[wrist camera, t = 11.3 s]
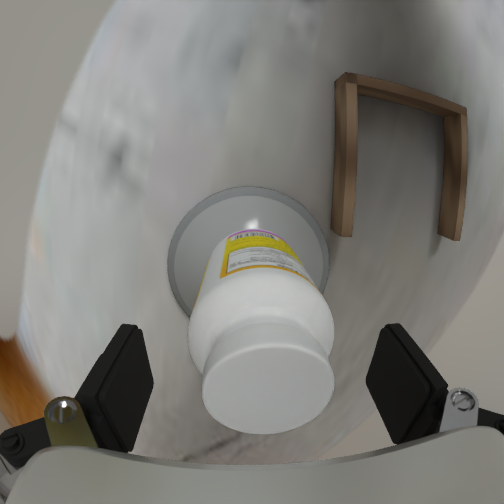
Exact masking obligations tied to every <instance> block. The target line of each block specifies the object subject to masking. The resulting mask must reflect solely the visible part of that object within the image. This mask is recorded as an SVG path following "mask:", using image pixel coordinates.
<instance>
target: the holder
mask: <svg viewBox="0 0 504 504" xmlns="http://www.w3.org/2000/svg"><path fill="white" fill-rule="evenodd" d="M357 94H358V95H363V96H368V97H373V98H378V99H382V100H386V101H391V102H395V103H399V104H403V105H407V106H410V107H414V108H417V109H421V110H424V111H428V112H431V113H434V114H437V115H440V116H443V117H444V175H443V190H442V202H441V211H440V220H439V227H438V234H440V235H442V236H444V237H447V238H449V239H451V240H453V241H460V237H461V231H462V224H463V216H464V208H465V198H466V185H467V166H468V128H467V109H466V107H463V106H461V105H458V104H456V103H453V102H451V101H448V100H445V99H443V98H440V97H437V96H434V95H432V94H429V93H426V92H423V91H420V90H416V89H413V88H410V87H407V86H403V85H400V84H396V83H392V82H388V81H384V80H380V79H376V78H372V77H368V76H363V75H358V74H353V73H348V72H345V73H344V74H343V75H342V76H341V77H339V78H338V79H337V80H336V81H335V161H334V185H333V202H332V217H331V230H333V231H334V232H335V233H337V234H338V235H340V236H341V237H352V229H353V219H354V206H355V192H356V174H357V143H358V105H357Z"/></svg>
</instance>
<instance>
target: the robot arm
mask: <svg viewBox="0 0 504 504" xmlns="http://www.w3.org/2000/svg"><path fill="white" fill-rule="evenodd" d="M153 384H154V382H153V376H152V372H151V368H150V364H149V360H148V356H147V351H146V346H145V342H144V337H143V332H142V330H141V329H138V327H137V325H131V324H122V325H121V326H120V328H119V329H118V331H117V332H116V334H115V335H114V337H113V338H112V340H111V341H110V343H109V345H108V346H107V348H106V349H105V351H104V352H103V354H101V355H100V357H99V358H98V360H97V361H96V363H95V364H94V366H93V368H92V369H91V371H90V372H89V374H88V376H87V377H86V379H85V381H84V382H83V384H82V386H81V387H80V389H79V391H78V393H77V394H76V396H75V398H71V397H67V396H62V397H57V398H55V399H53V400H51V401H50V402H49V403H48V404H47V405H46V407H45V410H44V417H43V418H40V419H37V420H35V421H32V422H29V423H26V424H22V425H19V426H16V427H13V428H10V429H8V430H5V431H4V432H3V433H2V434H1V435H0V504H504V415H501V414H498V413H494V412H491V411H488V410H485V409H481V408H478V406H479V404H478V399H477V397H476V396H475V395H474V393H472V392H471V391H469V390H467V389H465V388H454V389H452V390H451V391H450V392H449V391H448V390H447V387H448V384H447V383H446V381H445V380H444V379H443V378H442V376H441V375H440V373H439V372H438V371H437V369H436V368H435V367H434V366H433V364H432V363H431V362H430V360H429V359H428V358H427V357H426V355H425V354H424V353H423V351H422V350H421V349H420V348H419V346H418V345H417V344H416V343H415V341H414V340H413V339H412V338H411V336H410V335H409V334H408V333H407V332H406V330H405V329H404V328H403V327H402V325H401V324H399V323H395V324H387V325H385V327H384V328H382V329H381V331H380V334H379V338H378V341H377V345H376V348H375V351H374V355H373V358H372V361H371V364H370V367H369V370H368V373H367V376H366V385H367V387H368V389H369V392H370V394H371V396H372V398H373V400H374V402H375V404H376V406H377V409H378V411H379V413H380V415H381V417H382V419H383V422H384V424H385V426H386V428H387V430H388V432H389V435H390V437H391V439H392V441H393V443H394V444H397V445H395V446H391V447H387V448H383V449H379V450H375V451H370V452H365V453H361V454H356V455H350V456H345V457H338V458H332V459H326V460H317V461H309V462H299V463H286V464H268V465H222V464H204V463H192V462H182V461H173V460H166V459H158V458H151V457H145V456H139V455H134V454H129V453H128V451H130V452H131V451H132V450H133V448H134V444H135V441H136V438H137V435H138V432H139V428H140V425H141V422H142V419H143V416H144V413H145V410H146V407H147V404H148V401H149V398H150V395H151V392H152V389H153Z"/></svg>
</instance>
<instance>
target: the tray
mask: <svg viewBox="0 0 504 504" xmlns="http://www.w3.org/2000/svg"><path fill="white" fill-rule="evenodd" d="M245 229H262V230H266V231H269V232H272V233H274V234H276V235H278V236H280V237H281V238H282V239H283V240H285V241H286V242H287V243H288V244H289V246H290V247H291V248H292V249H293V251H294V252H295V254H296V255H297V257H298V258H299V260H300V262H301V263H302V265H303V266H304V267H305V269H306V271H307V272H308V274H309V276H310V277H311V279H312V280H313V282H314V284H315V285H316V287H317V288H318V290H319V291H320V293H321V294H323V291H324V289H325V286H326V283H327V279H328V274H329V252H328V247H327V243H326V240H325V237H324V235H323V232H322V230H321V228H320V227H319V225H318V223H317V222H316V220H315V219H314V218H313V216H312V215H311V214H310V213H309V212H308V211H307V210H306V209H305V208H304V207H303V206H302V205H300V204H299V203H297V202H296V201H295V200H293V199H292V198H290V197H288V196H286V195H284V194H282V193H279V192H277V191H274V190H271V189H266V188H262V187H237V188H231V189H227V190H224V191H221V192H218V193H216V194H214V195H212V196H210V197H208V198H206V199H204V200H203V201H202V202H200V203H199V204H197V205H196V206H195V207H194V208H193V209H192V210H191V211H190V212H188V214H187V215H186V216H185V217H184V218H183V220H182V221H181V223H180V224H179V226H178V227H177V229H176V231H175V233H174V235H173V238H172V240H171V244H170V247H169V252H168V276H169V281H170V284H171V288H172V291H173V293H174V295H175V297H176V299H177V301H178V302H179V304H180V306H181V307H182V308H183V310H184V311H185V312H186V313H187V314H188V315H189V316H190V317H191V314H192V310H193V307H194V304H195V301H196V298H197V295H198V292H199V289H200V285H201V282H202V279H203V276H204V273H205V269H206V266H207V263H208V260H209V258H210V256H211V254H212V252H213V250H214V249H215V247H216V246H217V245H218V244H219V243H220V242H221V241H222V240H223V239H224V238H226V237H227V236H229V235H230V234H232V233H235V232H237V231H240V230H245Z"/></svg>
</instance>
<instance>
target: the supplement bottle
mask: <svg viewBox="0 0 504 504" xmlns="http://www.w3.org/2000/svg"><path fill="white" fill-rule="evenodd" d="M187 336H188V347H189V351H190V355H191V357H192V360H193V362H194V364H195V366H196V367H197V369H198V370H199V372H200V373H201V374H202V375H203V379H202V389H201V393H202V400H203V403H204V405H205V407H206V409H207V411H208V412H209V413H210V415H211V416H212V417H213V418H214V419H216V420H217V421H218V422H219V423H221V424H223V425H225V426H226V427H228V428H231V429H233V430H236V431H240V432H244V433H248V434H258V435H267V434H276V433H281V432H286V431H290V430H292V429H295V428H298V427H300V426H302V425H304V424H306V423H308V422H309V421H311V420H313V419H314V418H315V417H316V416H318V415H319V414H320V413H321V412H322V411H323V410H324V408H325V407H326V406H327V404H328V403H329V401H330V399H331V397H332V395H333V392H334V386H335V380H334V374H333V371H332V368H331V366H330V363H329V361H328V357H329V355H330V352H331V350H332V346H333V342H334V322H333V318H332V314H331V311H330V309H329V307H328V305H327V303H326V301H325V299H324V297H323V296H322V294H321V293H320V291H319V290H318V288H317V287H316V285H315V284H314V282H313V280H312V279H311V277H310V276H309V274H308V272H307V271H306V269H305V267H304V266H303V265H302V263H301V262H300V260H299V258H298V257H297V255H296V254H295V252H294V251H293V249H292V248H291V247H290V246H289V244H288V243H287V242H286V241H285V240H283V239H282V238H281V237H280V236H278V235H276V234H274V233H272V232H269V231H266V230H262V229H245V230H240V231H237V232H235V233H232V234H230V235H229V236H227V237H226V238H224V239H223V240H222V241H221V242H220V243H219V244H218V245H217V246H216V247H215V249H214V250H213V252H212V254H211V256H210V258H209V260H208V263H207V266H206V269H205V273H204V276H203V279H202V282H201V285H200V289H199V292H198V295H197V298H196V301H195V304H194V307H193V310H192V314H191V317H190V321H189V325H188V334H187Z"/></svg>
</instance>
